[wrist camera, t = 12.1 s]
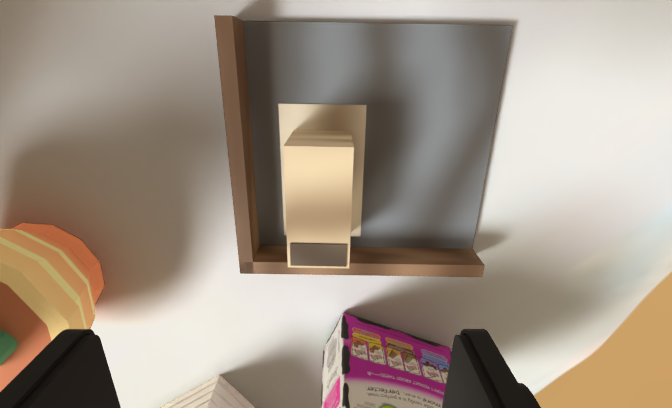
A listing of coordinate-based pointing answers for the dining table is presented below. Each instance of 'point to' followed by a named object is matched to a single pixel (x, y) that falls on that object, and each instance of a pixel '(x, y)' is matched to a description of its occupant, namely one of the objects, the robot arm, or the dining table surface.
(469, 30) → the corner arena
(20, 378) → the robot arm
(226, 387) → the stack of papers
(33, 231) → the potted cactus
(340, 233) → the maple block
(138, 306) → the dining table surface
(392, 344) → the candy bar box
